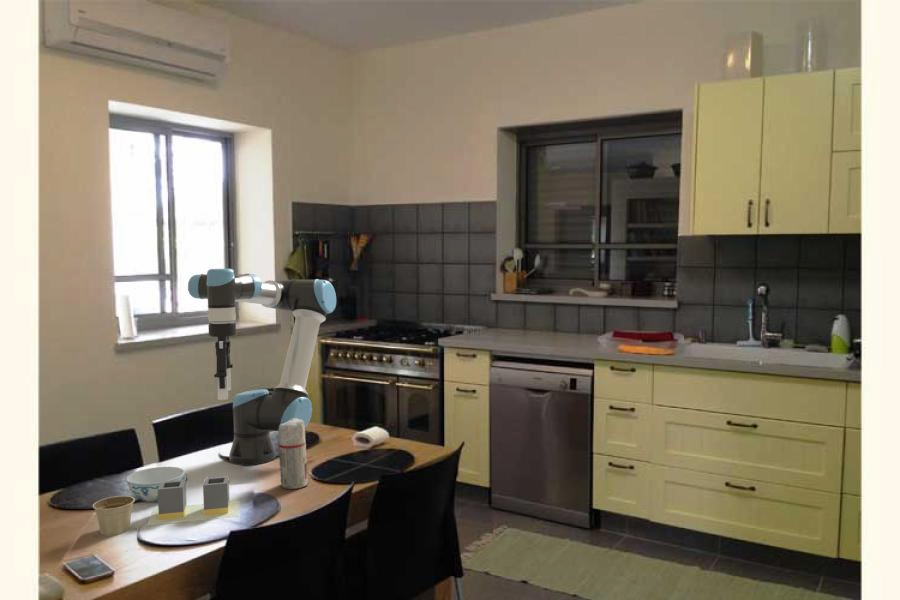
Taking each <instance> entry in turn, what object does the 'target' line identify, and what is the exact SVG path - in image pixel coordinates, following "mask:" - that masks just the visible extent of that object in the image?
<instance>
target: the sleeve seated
mask: <svg viewBox="0 0 900 600" xmlns="http://www.w3.org/2000/svg"><path fill="white" fill-rule="evenodd" d="M157 505H158V509H159V520H164V519H174V518H184V515H185V513H186V510H187V505H188V504H187V484H186V479H183V480H180V481H168V482H161V484H160V486H159V488H158V501H157Z"/></svg>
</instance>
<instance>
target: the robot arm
mask: <svg viewBox="0 0 900 600" xmlns="http://www.w3.org/2000/svg"><path fill="white" fill-rule="evenodd" d="M187 291H188V293H189V295H190V296H191V297H192V298H194V299H198V300H199V299H200V300H207V310H206V311H205V314H206V315H208V316H207V317H208V321H209V323H208V326H207V327H208V336H209V337H213V338H217V341H215V344H214V346H215V347H214V348H215V355H216V356H215V357H216V373H214V375H213V377H214V378H216V384H217V388H216V389H217V401H226V400H229V391H232V378H231V375H232V374H231V373H232V372H231V369H232V368H233V364H232V362H231V355H230V353H231V341H229V339H230V337H232V336H233V337H234V336H235V335H236V334H237V324H236V322H235V321H236V319H237V318H236V317H237V316H236V302H237V303H238V302H239V303H247V304H248V303H249V304H258V305H261V306H262V307H265V308H267V309H276V310H280V311H286V312H290V313H292V314H293V316H294V319H295V320H294V325H293V328H292V333H291V337H290V341H289V345H288V348H287V353H286V357H285V361H284V364H283V365H284V366H283V369H282V373H281V378H280V382H279V384H278V385H276V386H274V387H273V390H272V394H270V392H269V390H268V389H266V388H265V389H263V388H262V389H253V390H247V391H243V392H240V393H237V394H235V395H234V397H233V402H232V416H233V419H232V420H233V435H234V436H233V440H232V445H231V447H230V448H231V449H230V451H229V462H230V463H231V464H234V465H240V466H248V465H249V466H250V465H259V464H265V463H269V462H271V461H273V460H275V458H276V457H277V456H276V455H277V454H276V453H277V451H276V447H275V445H274V442H273V440H272V437H271V435H270V434H271V432H279V425H280V424H283V423H285V422H287V421H288V420H290V419H292V418H297V419H301V420H303V421H304V424H305V428H306V427H308V424H309V423H310V420H311V418H312V413H313V408H312V406H313V404H312V402H311V400H310V399H309V393H308V392H307V390H306V387H307V382H308V377H309V373H310V369H311V365H312V360H313V357H314V352H315V348H316V345H317V344H316V343H317V339H318V334H319V331H320V326H321V324H322V323H323V322H326V320H327V315H328V314H331V313H333V312H334V311H335V310H336V306H337V295H336V291H335V288H334V286H333V284H332V283H331V282H330V281H329V280H326V279H319V278H316V279H283V280H265V281H264V282H263V281H262V280H261V278H260V277H259V276H258V275H256V274H254V273H242V274H241V273H240V274H239V273H237V274H235V272H234V269H233V268H209V269H208V270H207V272H206V274H204V273H200V274H194V275H191V277H190V278H189V280H188V283H187Z"/></svg>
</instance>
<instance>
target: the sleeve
mask: <svg viewBox="0 0 900 600" xmlns="http://www.w3.org/2000/svg"><path fill="white" fill-rule="evenodd" d="M202 493H203V495H202V496H203V497H202V498H203V504H204V515H214V514H224V513H228V512H229V506H230V501H231V500H230V477H229V476H226V475H225V476H217V477H216V476H213V477H206V478H204V481H203V484H202Z"/></svg>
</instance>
